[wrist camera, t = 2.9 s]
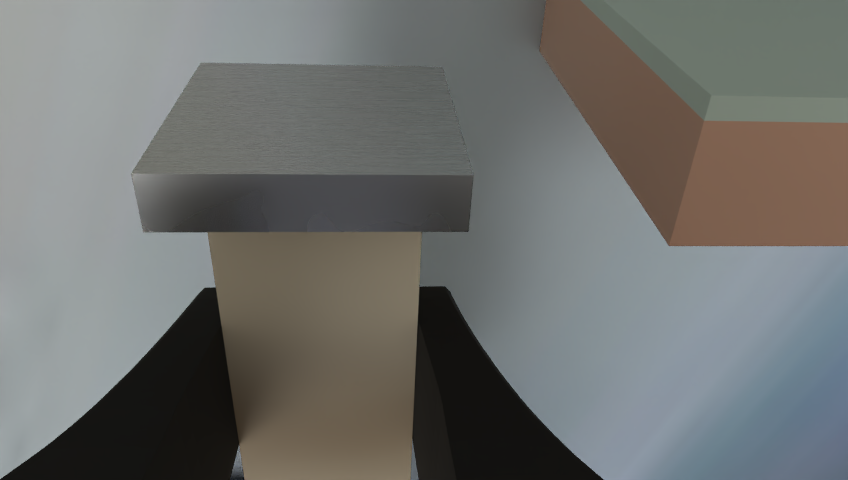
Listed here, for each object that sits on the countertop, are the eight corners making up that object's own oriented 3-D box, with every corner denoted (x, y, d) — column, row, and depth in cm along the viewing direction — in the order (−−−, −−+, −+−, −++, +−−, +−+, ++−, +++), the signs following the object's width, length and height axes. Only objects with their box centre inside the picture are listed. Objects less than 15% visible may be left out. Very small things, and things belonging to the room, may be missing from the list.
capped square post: (419, 484, 17) (431, 648, 14) (258, 489, 17) (232, 658, 14) (442, 66, 12) (472, 175, 8) (200, 63, 11) (131, 173, 8)
